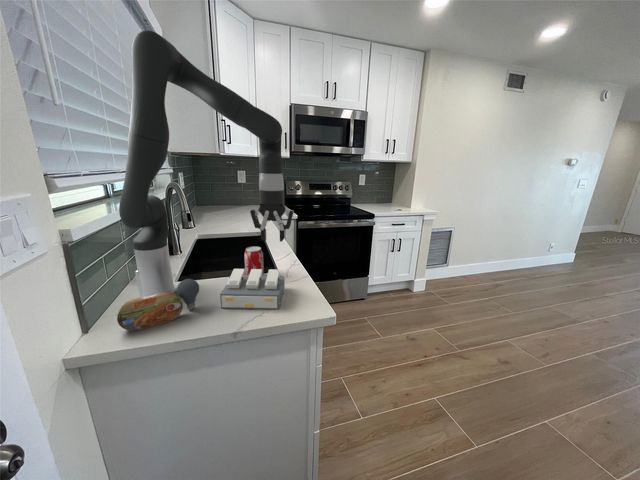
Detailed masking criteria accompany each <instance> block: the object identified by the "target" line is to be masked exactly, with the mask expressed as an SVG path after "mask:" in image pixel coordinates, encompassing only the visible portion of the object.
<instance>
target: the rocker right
mask: <svg viewBox="0 0 640 480" xmlns="http://www.w3.org/2000/svg"><path fill="white" fill-rule="evenodd" d="M280 271H281V270H280V269H272V268H271V269H269V268H268V272H267V277H266V282H265V289H277V284H278V281H279V276H281V275H280V273H281V272H280Z"/></svg>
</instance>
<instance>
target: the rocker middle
mask: <svg viewBox="0 0 640 480" xmlns="http://www.w3.org/2000/svg"><path fill="white" fill-rule="evenodd" d="M261 276H262V269H251V272H250V275H249V277H248V278H247V283H246V289H258V286H259V283H260V280H261Z"/></svg>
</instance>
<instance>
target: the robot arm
mask: <svg viewBox="0 0 640 480" xmlns="http://www.w3.org/2000/svg"><path fill="white" fill-rule="evenodd" d="M131 70H132V71H131V72H132V73H131V74H132V75H131V77H132V96H131V103H130V105H131V106H130V119H129V121H130V122H129V127H128V128H129V129H128V138H127V157H126V164H125V165H126V167H125V175H124V180H123V181H124V182H123V185H122V189H121V195H120V200H119V204H118V205H119V206H118V211H119V217H120V220H121V222H122V224H123V225H124V226H126V227H127V228H129V229H140V232H139V233H138V234H137V235H136V236H135V237H134V238H133V239H132V247H133V252H134V253H133V254H134V256H135V257H134V258H135V263H136V267H137V268H136V269H137V270H135V272H134V273H135V280H136V284H137V288H138V289H137V290H138V293H139V294H138V295H139V298H141V297H146V296H150V295H154V294H159V293H163V292H172V293H175V284H174V278H173V271H172V270H173V269H172V266H171V265H172V264H171V258H170V252H169V246H168V245H169V244H168V237H169V234H170V233H169V224H168V223H169V222H168V214H167V209H166V206H165V204H164V202H163V200H162V199H160V198H159V197H158V196H156V195H152V194H151V195H150V194H149V193H150V188H151V186H152V183H153V181H154V179H155V178H156V176H157V175H158V173H159V172H160V170H161V169H162V168H163V166H164V164H165V162H166V160H167V157H168V152H169V144H170V130H169V129H170V128H169V124H168V117H167V116H168V115H167V112H166V100H165V99H166V92H167V85H168V82H169V83H171V84H172V85H175V86H178V87H180V88H182V89H184V90H186V91H187V92H189V93H191V94H193V95H194V96H196V97H197V98H199V99H200V100H201V101H203V102H204V103H205V104H207V105H208V106H209V107H211V109H213V110H215V111H216V112H217V113H219V115H221V116H223V117H224V118H226V119H227V120H229V121H230V122H232V123H233V124H236V125H237V126H238V127H240V128H244V129H245V130H246V131H248V132H249V133H251V134H252V135H254V136H255V137H257V138H258V146H259V147H258V148H259V157H258V171H259V172H258V173H259V177H258V188H259V189H258V193H259V194H258V195H259V207H258V208H256V209H255V208H253V209H250V211H249V213H250V216H251V219H252V223H253V226H254V229H259V230H260V239H261V240H262V241H263V242H266V241H267V229H266V227H267V224H268V222H269V221H270V222H271V221H274V222H276V223H277V225H278V227H279V229H280V230H279V242H283V240H284V239H285V234H286V233H285V231H286V230H288V229H290V227H291V224H292V221H293V217H294V213H295V211H294V210H293V209H287V208H286V206H285V193H284V191H285V185H284V174H283V171H284V170H283V167H284V165H283V157H282V135H283V127H282V124H281V123H280V122H279V120H278V119H276V118H275V117H274V116H272V115H271V114H269V113H267V112H266V111H264V110H262V109H261V108H259V107H256V106H255V105H253V104H252V103H250V102H249V101H248V100H247V99H246V98H244V97H242V96H241V95H240V94H238V93H237V92H235V91H234V90H232V89H231V88H228V87H227V86H225V85H223V84H222V83H220V82H219V81H216V80H215V79H214V78H211V76H208V75H207V74H205V73H204V72H203V71H201V70H200V69H199V68H198V67H196V66H195V65H194V64H192V62H190V61H189V59H187V58H186V57H185V56H184V55H183V54H182V53H181V52H180V51H179V50H178V49H177V48H176V47H175V46H174V45H173V44H172V43H171V42H170V41H168V40H167V39H166V38H165V37H163V36H162V35H160V34H159V33H157V32H155V31H153V30H149V29H145V30H142V31H140V32H138V33H137V34H136V35H135V36H134V38H133V40H132V45H131ZM259 214H261V217H263V218H262V221H261V223H260V220H259V217H258V216H259ZM284 214H285V215H286V217H287V219H286V220H287V221H286V224H284V221H283V217H282V216H284Z"/></svg>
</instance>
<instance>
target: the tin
mask: <svg viewBox="0 0 640 480" xmlns="http://www.w3.org/2000/svg"><path fill="white" fill-rule="evenodd" d="M183 309H184V302H183V301H182V298H181V297H180V296H179V295H178V293H175V292H174V293H172V292H163V293H159V294H154V295H150V296H146V297H141V298H140V297H138V298H133V299H130V300H129V301H126V302H125V303H124V304H123V305H121V307H120V309H119V311H118V313H117V316H116V320H117V324H118V325H119V326H120V328H122V329H124V330H126V331H129V332H130V331H131V332H136V331H141V330H145V329H148V328H151V327H156V326H157V325H162V324H165V323H169V322H172V321H174V320H175V319H177V318H178V317H179V316H180V315H181V313H182V311H183ZM144 328H145V329H144Z"/></svg>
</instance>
